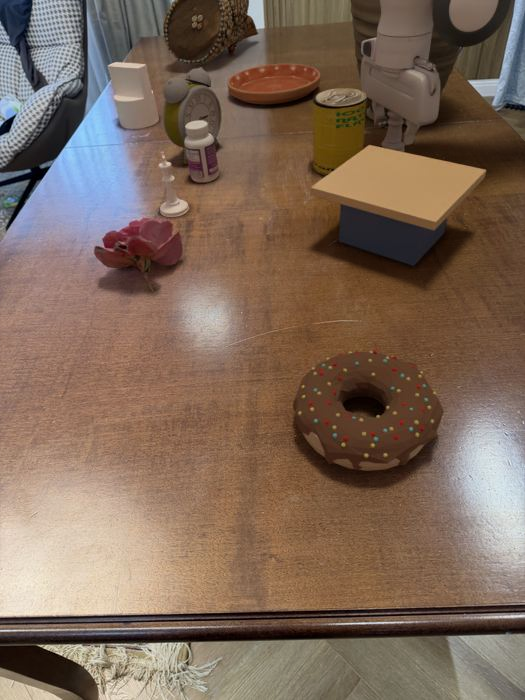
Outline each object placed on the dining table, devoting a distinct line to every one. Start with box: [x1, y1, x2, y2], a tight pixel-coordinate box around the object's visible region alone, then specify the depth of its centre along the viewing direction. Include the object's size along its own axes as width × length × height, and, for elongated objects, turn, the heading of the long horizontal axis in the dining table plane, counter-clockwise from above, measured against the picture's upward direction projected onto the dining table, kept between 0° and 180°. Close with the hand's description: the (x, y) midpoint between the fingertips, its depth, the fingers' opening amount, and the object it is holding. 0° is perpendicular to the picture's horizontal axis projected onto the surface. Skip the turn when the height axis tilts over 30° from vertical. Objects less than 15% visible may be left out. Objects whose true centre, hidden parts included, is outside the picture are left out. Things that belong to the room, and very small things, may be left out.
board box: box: [310, 144, 487, 267], centre depth 72 cm, size 18×16×9 cm
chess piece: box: [158, 150, 190, 218], centre depth 83 cm, size 5×5×10 cm
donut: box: [292, 350, 444, 472], centre depth 49 cm, size 14×14×5 cm
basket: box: [162, 0, 260, 66], centre depth 149 cm, size 24×22×35 cm
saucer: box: [226, 63, 321, 105], centre depth 125 cm, size 23×23×4 cm
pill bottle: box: [184, 120, 220, 184], centre depth 91 cm, size 5×5×10 cm
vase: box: [350, 0, 461, 125], centre depth 101 cm, size 24×24×30 cm
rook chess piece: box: [381, 111, 406, 152], centre depth 93 cm, size 4×4×8 cm
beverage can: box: [312, 87, 367, 176], centre depth 89 cm, size 9×9×12 cm
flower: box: [93, 217, 184, 292], centre depth 71 cm, size 11×10×10 cm
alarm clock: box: [162, 66, 222, 165], centre depth 97 cm, size 12×7×15 cm, turn 143°
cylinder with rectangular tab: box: [107, 61, 160, 130], centre depth 114 cm, size 9×9×12 cm
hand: (392, 134), depth 94 cm, fingers open, 8 cm apart
